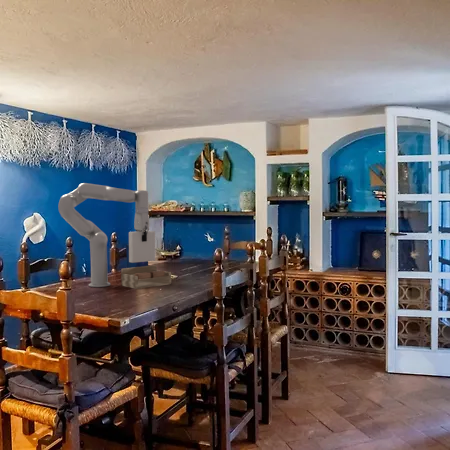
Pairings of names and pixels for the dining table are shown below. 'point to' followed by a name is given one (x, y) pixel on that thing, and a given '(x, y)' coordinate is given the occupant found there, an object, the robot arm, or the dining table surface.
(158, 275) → the offcut
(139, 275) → the offcut
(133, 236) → the tall sheet
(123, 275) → the rack
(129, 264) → the book
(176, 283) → the dining table surface
